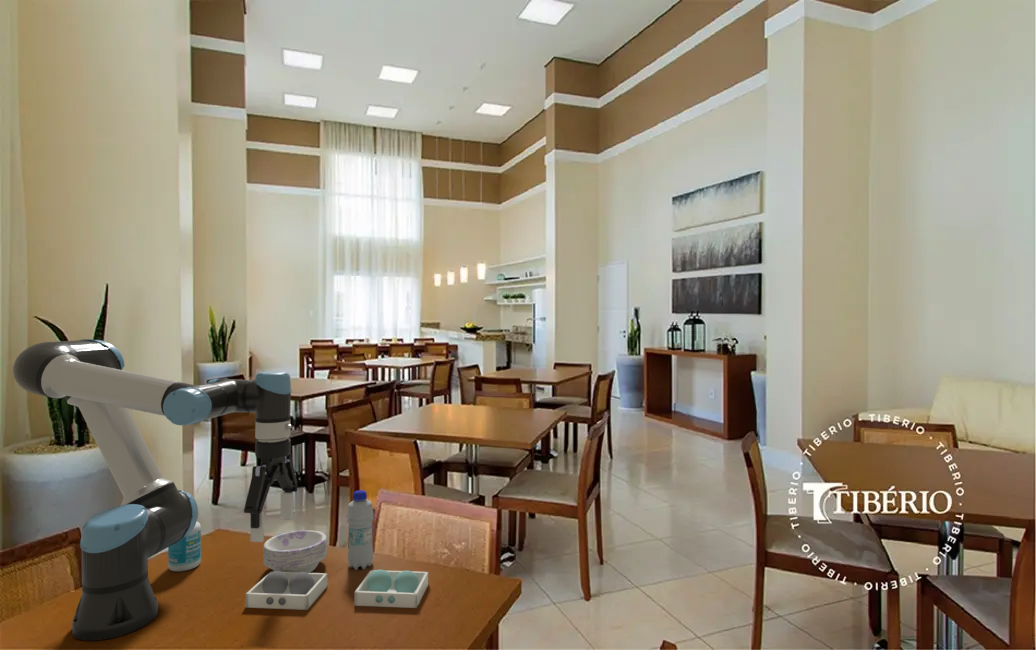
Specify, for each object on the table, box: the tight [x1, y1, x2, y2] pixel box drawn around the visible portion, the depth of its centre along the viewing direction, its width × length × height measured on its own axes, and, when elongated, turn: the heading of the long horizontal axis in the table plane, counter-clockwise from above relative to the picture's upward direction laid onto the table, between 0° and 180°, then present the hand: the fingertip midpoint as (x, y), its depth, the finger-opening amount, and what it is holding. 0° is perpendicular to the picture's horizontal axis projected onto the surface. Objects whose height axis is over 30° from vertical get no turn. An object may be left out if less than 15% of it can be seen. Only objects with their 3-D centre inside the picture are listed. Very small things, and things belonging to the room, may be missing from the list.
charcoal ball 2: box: [289, 572, 314, 595], centre depth 134 cm, size 6×6×6 cm
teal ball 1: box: [367, 568, 391, 592], centre depth 135 cm, size 6×6×6 cm
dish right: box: [353, 569, 429, 609], centre depth 135 cm, size 14×11×4 cm
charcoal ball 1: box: [262, 571, 288, 594], centre depth 135 cm, size 6×6×6 cm
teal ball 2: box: [394, 569, 418, 593], centre depth 135 cm, size 6×6×6 cm
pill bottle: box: [167, 521, 202, 572], centre depth 151 cm, size 8×7×14 cm
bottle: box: [346, 489, 375, 571], centre depth 151 cm, size 7×7×20 cm
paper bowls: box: [262, 529, 328, 573], centre depth 149 cm, size 15×15×8 cm
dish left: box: [245, 571, 329, 611], centre depth 134 cm, size 14×12×4 cm
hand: (272, 529), depth 134 cm, fingers open, 13 cm apart
